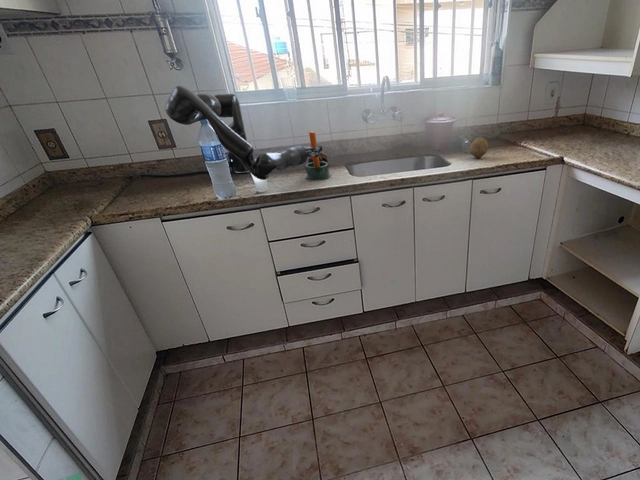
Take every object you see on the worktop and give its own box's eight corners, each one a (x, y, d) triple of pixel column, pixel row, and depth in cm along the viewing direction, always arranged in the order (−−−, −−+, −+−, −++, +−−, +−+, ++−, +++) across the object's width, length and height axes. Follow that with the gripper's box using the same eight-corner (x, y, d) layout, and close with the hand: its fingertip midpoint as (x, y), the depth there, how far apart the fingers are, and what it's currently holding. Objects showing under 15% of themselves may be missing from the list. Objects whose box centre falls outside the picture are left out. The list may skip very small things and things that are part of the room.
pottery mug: (304, 167, 191) (309, 150, 190) (323, 173, 195) (327, 157, 194) (309, 166, 180) (314, 148, 179) (328, 173, 185) (333, 156, 183)
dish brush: (311, 175, 172) (304, 133, 162) (314, 173, 176) (308, 130, 166) (321, 176, 172) (315, 133, 162) (324, 173, 176) (319, 130, 166)
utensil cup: (304, 179, 172) (302, 167, 168) (311, 173, 180) (309, 161, 176) (325, 180, 170) (324, 167, 167) (332, 173, 178) (330, 161, 175)
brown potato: (488, 160, 189) (490, 139, 183) (470, 161, 189) (472, 139, 184) (485, 156, 197) (487, 135, 191) (468, 156, 197) (469, 135, 191)
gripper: (281, 164, 162) (307, 155, 175) (307, 167, 157) (332, 157, 170) (278, 145, 158) (304, 137, 171) (304, 148, 153) (330, 139, 165)
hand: (318, 147), depth 170 cm, fingers closed on dish brush, 2 cm apart
